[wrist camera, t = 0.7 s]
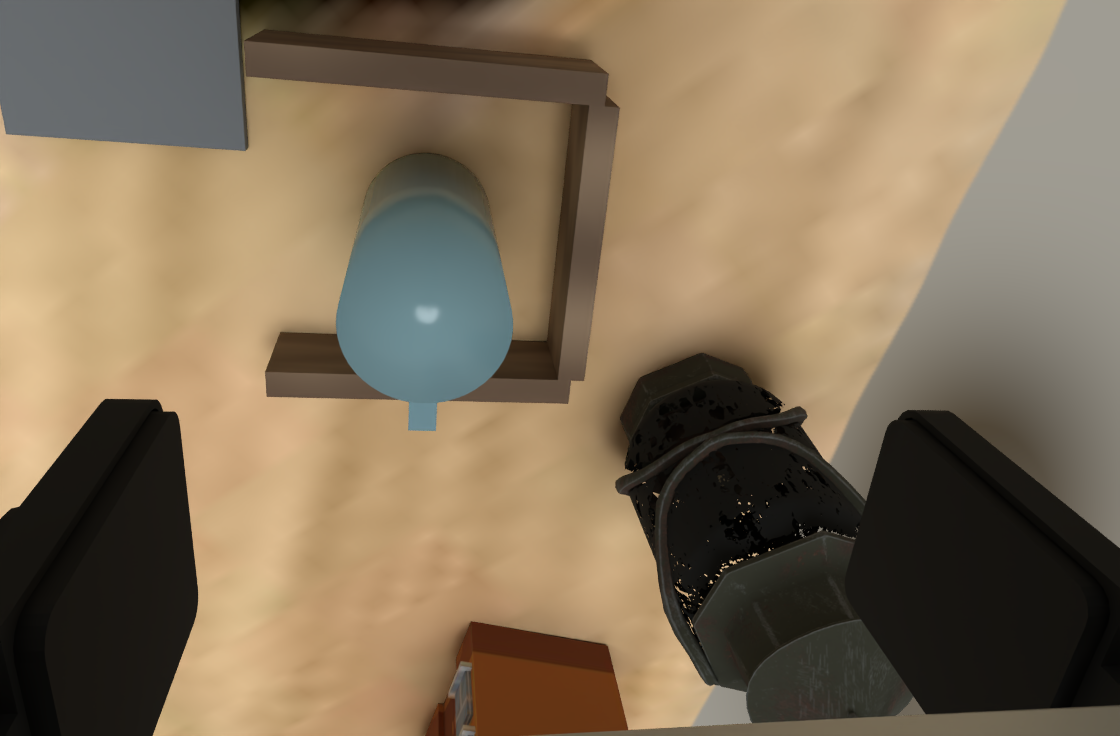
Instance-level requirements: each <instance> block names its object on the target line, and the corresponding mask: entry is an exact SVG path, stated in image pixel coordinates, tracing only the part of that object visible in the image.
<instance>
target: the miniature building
mask: <svg viewBox="0 0 1120 736" xmlns="http://www.w3.org/2000/svg"><path fill="white" fill-rule="evenodd" d="M456 670H457V671H456V673H455V676H454V678H453V681H452V684H451V686H450V689H449V692H448V694H447V697H446V700H445V702H444V704H439V703H438V706H437V708H436V711H435V713H434V716H433V718H432V721H431V723H430V726H429V728H428V731H427V733H426V736H531V735H549V734H568V733H587V732H605V731H623V730H628V727H627V723H626V718H625V714H624V710H623V706H622V702H621V698H620V694H619V690H618V686H617V682H616V678H615V674H614V669H613V665H612V661H611V657H610V653H609V649H608V646H605V645H600V644H594V643H588V642H583V641H577V640H572V639H566V638H561V637H555V636H550V635H544V634H539V633H533V632H528V631H522V630H516V629H511V628H505V627H500V626H494V625H489V624H483V623H478V622H472V621H471V623H470V625H469V628H468V630H467V633H466V635H465V638H464V640H463V643H462V645H461V648H460V650H459V653H458V655H457V658H456Z"/></svg>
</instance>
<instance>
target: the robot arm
mask: <svg viewBox="0 0 1120 736" xmlns="http://www.w3.org/2000/svg"><path fill="white" fill-rule="evenodd" d="M845 591H846V595H847V598H848V601H849V602H850V604H851V606H852V607H853V609H854V610H855V612H856V613H857V615H858V616H859V617H860V619H861V620H862V622H863V623H864V625H865V626H866V628H867V629H868V631H869V632H870V633H871V635H872V636H873V638H874V639H875V641H876V642H877V644H878V645H879V647H880V648H881V650H882V651H883V652H884V654H885V655H886V657H887V658H888V660H889V661H890V663H891V664H892V666H893V667H894V669H895V670H896V671H897V673H898V674H899V676H900V677H901V679H902V680H903V682H904V683H905V685H906V686H907V687H908V689H909V690H910V692H911V693H912V695H913V696H914V698H915V699H916V701H917V702H918V703H919V705H920V706H921V708H922V709H923V711H924V712H925V714H923V715H904V716H884V717H864V718H845V719H826V720H806V721H787V722H768V723H749V724H732V725H713V726H695V727H677V728H659V729H641V730H623V731H605V732H587V733H568V734H549V735H531V736H1120V548H1119V547H1117V546H1116V545H1115V544H1114V543H1112V542H1111V541H1110V540H1109V539H1107V538H1106V537H1105V536H1104V535H1103V534H1101V533H1100V532H1099V531H1098V530H1097V529H1095V528H1094V527H1093V526H1092V525H1090V524H1089V523H1088V522H1087V521H1085V520H1084V519H1083V518H1082V517H1080V516H1079V515H1078V514H1077V513H1076V512H1074V511H1073V510H1072V509H1071V508H1069V507H1068V506H1067V505H1066V504H1064V503H1063V502H1062V501H1061V500H1059V499H1058V498H1057V497H1056V496H1055V495H1053V494H1052V493H1051V492H1050V491H1048V490H1047V489H1046V488H1045V487H1043V486H1042V485H1041V484H1040V483H1039V482H1037V481H1036V480H1035V479H1034V478H1032V477H1031V476H1030V475H1028V474H1027V473H1026V472H1025V471H1024V470H1022V469H1021V468H1020V467H1019V466H1018V465H1016V464H1015V463H1014V462H1013V461H1011V460H1010V459H1009V458H1008V457H1006V456H1005V455H1004V454H1003V453H1002V452H1000V451H999V450H998V449H997V448H995V447H994V446H993V445H991V444H990V443H989V442H988V441H987V440H985V439H984V438H983V437H982V436H981V435H979V434H978V433H977V432H976V431H974V430H973V429H972V428H971V427H969V426H968V425H967V424H966V423H964V422H963V421H962V420H961V419H960V418H958V417H957V416H956V415H955V414H953V413H951V412H949V411H933V410H932V411H931V410H930V411H929V410H927V411H926V410H907V411H905V412H903V413H902V414H901V416H900V417H899V418H898V420H894V421H892V422H891V423H890V424H889V425H888V427H887V430H886V433H885V436H884V440H883V443H882V447H881V451H880V454H879V457H878V461H877V464H876V468H875V472H874V476H873V479H872V482H871V486H870V489H869V493H868V497H867V501H866V504H865V507H864V511H863V514H862V518H861V522H860V525H859V529H858V532H857V536H856V539H855V543H854V546H853V550H852V554H851V557H850V561H849V564H848V568H847V571H846V576H845ZM197 606H198V586H197V577H196V567H195V558H194V549H193V540H192V531H191V522H190V513H189V504H188V495H187V486H186V477H185V468H184V459H183V450H182V440H181V431H180V423H179V418H178V416H177V414H176V412H163V409H162V406H161V404H160V402H159V401H158V400H141V399H105V400H104V401H103V402H101V404H100V405H99V406H98V407H97V409H96V410H95V411H94V412H93V414H92V415H91V416H90V418H89V419H88V420H87V421H86V423H85V424H84V425H83V426H82V428H81V429H80V430H79V432H78V433H77V434H76V435H75V437H74V438H73V439H72V440H71V442H70V443H69V444H68V445H67V447H66V448H65V449H64V451H63V452H62V453H61V454H60V456H59V457H58V458H57V459H56V461H55V462H54V463H53V465H52V466H51V467H50V468H49V470H48V471H47V472H46V473H45V475H44V476H43V477H42V479H41V480H40V481H39V482H38V484H37V485H36V486H35V487H34V489H33V490H32V491H31V493H30V494H29V495H28V496H27V498H26V499H25V500H24V501H23V503H22V504H21V505H20V507H16V508H12V509H10V510H9V511H8V512H7V513H6V514H5V515H4V516H3V517H2V518H1V519H0V736H153V733H154V730H155V727H156V725H157V722H158V719H159V717H160V714H161V711H162V708H163V706H164V703H165V700H166V698H167V695H168V692H169V689H170V687H171V684H172V681H173V679H174V676H175V673H176V670H177V668H178V665H179V662H180V659H181V657H182V654H183V651H184V649H185V646H186V643H187V640H188V638H189V635H190V632H191V630H192V627H193V624H194V621H195V618H196V613H197Z"/></svg>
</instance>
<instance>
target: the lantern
mask: <svg viewBox="0 0 1120 736" xmlns="http://www.w3.org/2000/svg"><path fill="white" fill-rule="evenodd" d="M769 398H772V399H769ZM766 399H767V400H766ZM776 402H777V403H776ZM781 403H782V402H781V401H780V400H779V399H778V398H776V397H775V396H774V395H773V394H771V393H770V392H769V391H766V390H764V389H762V388H760V387H758V386H756V385H753V384H752V381H751V380H750V378H749V376H748V375H747V374H746V372H745V371H744V369H743V368H741V367H738V366H736V365H733V364H730V363H728V362H725V361H723V360H720V359H717V358H715V357H712V356H709V355H707V354H704V353H700V354H698V355H695V356H693V357H691V358H688V359H686V360H683V361H681V362H678V363H676V364H673V365H671V366H668V367H666V368H664V369H661V370H659V371H656V372H654V373H651V374H649V375H646V376H644V377H641V378H640V379H639V381H638V383H637V385H636V387H635V389H634V391H633V393H632V395H631V397H630V399H629V401H628V403H627V405H626V407H625V409H624V411H623V413H622V415H621V417H620V420H621V423H622V425H623V428H624V430H625V433H626V435H627V438H628V440H629V443H630V445H629V447H628V452H627V455H626V461H625V469H626V468H627V470H630V471H631V472H632V471H633V470H634V471H633V473H631V474H628V475H625V476H622V477H621V478H619V479H618V480H616V486H615V488H616V489H617V491H618V493H620V494H625V495H628V496H630V498H631V501H632V503H633V506H634V508H635V511H636V513H637V515H638V518H639V520H640V523H641V525H642V528H643V530H644V533H645V535H646V538H647V540H648V543H649V545H650V548H651V550H652V553H653V555H654V558H655V560H656V563H657V572H658V582H659V588H660V593H661V598H662V603H663V608H664V612H665V614H666V616H667V618H668V621H669V623H670V625H671V627H672V629H673V632H674V634H675V636H676V637H677V639H678V640H679V642H680V643H681V645H682V646H683V648H684V649H685V651H686V652H687V654H688V655H689V657H690V659H691V661H692V662H693V664H694V666H695V668H696V669H697V671H698V673H699V675H700V676H701V678H702V679H703V680H704V682H705V683H706V684H707V685H710V686H711V685H713V684H714V685H720V686H722V687H726V688H730V689H735V690H739V691H744V692H747V693H746V701H747V710H748V713H749V716H750V720H751V722H752V723H768V722H787V721H806V720H826V719H845V718H864V717H884V716H896V715H897V714H899V713H900V712H901V711H902V710H903V708H904V707H906V706H907V705H908V703H909V702H910V701H911V699H912V697H913V695H912V693H911V692H910V690H909V689H908V687H907V686H906V685H905V683H904V682H903V680H902V679H901V677H900V676H899V674H898V673H897V671H896V670H895V669H894V667H893V666H892V664H891V663H890V661H889V660H888V658H887V657H886V655H885V654H884V652H883V651H882V650H881V648H880V647H879V645H878V644H877V642H876V641H875V639H874V638H873V636H872V635H871V633H870V632H869V631H868V629H867V628H866V626H865V625H864V623H863V622H862V620H861V619H860V617H859V616H858V615H857V613H856V612H855V610H854V609H853V607H852V606H851V604H850V602H849V601H848V598H847V595H846V591H845V576H846V571H847V568H848V564H849V561H850V557H851V554H852V550H853V546H854V543H855V540H854V539H851V538H852V537H854V538H856V535H857V530H856V527H857V528H858V529H859V525H860V522H861V518H862V514H863V511H864V507H865V504H866V501H865V500H864V499H863V497H862V496H861V495H860V494H859V493H858V492H857V491H856V490H855V489H854V488H853V486H852V485H851V484H849V482H848V481H847V480H846V479H845V478H844V477H842V475H840V474H839V473H838V472H837V471H836V470H835V469H834V468H833V467H832V466H831V465H830V464H829V463H828V462H826V461H825V460H824V459H823V458H822V456H821V455H820V453H819V452H818V450H817V449H816V447H815V446H814V444H813V443H812V441H811V440H810V439H809V437H808V436H807V434H806V433H805V431H804V430H803V428H802V427H801V424H802V423H803V421H804V420H805V419H806V418H807V414H806V411H805V410H804V409H803V408H801V407H800V406H798V407H795V408H792V409H790V410H788V411H785V412H782V413H780V411H781V409H780V406H782V405H781ZM783 404H784V403H783ZM784 405H785V404H784ZM774 407H775V408H776V407H778V408H776V409H774ZM782 407H783V406H782ZM769 408H770V409H769ZM773 428H775V429H773ZM771 429H773V430H775V431H774V432H773V433H772V431H771ZM771 449H772V450H771ZM627 456H628V457H627ZM635 464H636V466H634V465H635ZM802 466H804V467H805V469H806V470H804V469H803V467H802ZM628 468H629V469H628ZM807 468H808V469H807ZM638 469H639V470H638ZM637 470H638V471H637ZM805 471H806V472H805ZM809 471H810V472H809ZM643 482H646V484H645V483H644V484H643ZM782 483H783V485H782ZM807 487H808V488H807ZM653 492H655V493H658V494H659V497H658V498H657V497H656V496H655V495H654V494H653ZM751 495H752V496H751ZM737 499H738V500H737ZM636 500H637V501H638V502H637V501H636ZM677 500H679V503H678V502H677ZM683 502H684V503H683ZM738 502H741V505H740V504H738ZM748 502H750V503H751V504H750V505H748ZM766 502H768V505H767V504H766ZM673 503H674V504H673ZM642 504H643V506H642ZM752 505H753V506H752ZM676 506H677V508H676ZM768 506H769V507H768ZM748 510H749V511H750V512H751V513H750V512H747V511H748ZM741 512H743V513H744V514H745V515H742V514H743V513H741ZM759 514H760V515H761V517H762V518H760V515H759ZM640 517H641V518H640ZM735 517H736V518H735ZM734 518H735V519H734ZM757 519H758V520H757ZM740 521H741V522H740ZM758 521H759V522H758ZM652 524H653V525H652ZM799 524H801V526H799ZM804 524H805V525H804ZM654 526H655V527H654ZM819 526H820V527H821V528H822V527H823V530H822V531H820V532H817V531H818V529H819ZM732 528H733V529H732ZM799 529H803V530H802V532H803V533H804V534H803V533H802V534H803V535H804V538H803V537H801V536H802V535H800V533H801V532H799ZM826 529H827V530H828V532H827V531H826ZM726 530H727V531H726ZM743 530H744V531H743ZM804 530H805V531H804ZM832 530H833V532H837V534H838V533H839V535H837V534H834V533H831V531H832ZM855 530H856V531H855ZM808 531H809V532H808ZM647 534H648V535H647ZM795 534H796V536H795ZM840 534H841V535H840ZM844 534H845V535H846V536H848V537H851V538H847V537H844V536H842V535H844ZM648 536H649V537H648ZM805 536H806V537H805ZM734 539H735V540H734ZM707 540H708V541H709V542H708V541H707ZM782 542H783V543H782ZM652 544H653V545H652ZM672 546H673V547H672ZM769 548H770V550H771V551H768V549H769ZM772 548H774V549H772ZM748 552H749V553H748ZM671 553H672V555H671ZM753 553H754V554H755V553H757V555H756V557H754V556H752V555H753ZM748 554H750V556H748ZM758 554H759V555H758ZM674 556H675V557H674ZM731 557H732V558H731ZM741 558H743V560H740V562H739V561H738V562H737V559H741ZM747 559H748V560H747ZM721 560H722V561H721ZM729 560H730V561H731V560H732V561H733V562H734V560H735V561H736V564H734V565H733V564H732V563H731V564H730V563H729ZM677 562H678V564H677ZM724 563H726V564H724ZM737 563H738V564H737ZM674 564H675V565H674ZM682 564H683V565H684V566H683V565H682ZM722 564H724V566H723V565H722ZM725 566H729V567H728V568H723V569H722V568H721V567H725ZM690 567H691V568H690ZM689 568H690V569H689ZM720 569H722V570H723V571H722V572H721V571H720ZM718 570H719V571H718ZM704 574H706V575H707V577H706V576H705V575H704ZM716 574H718V575H720V576H719V577H718V576H717V575H716ZM700 576H701V577H700ZM680 579H681V581H680V583H681V582H682V583H681V584H680V583H679V580H680ZM710 580H712V582H713V584H711V583H710ZM715 581H716V582H715ZM677 582H678V583H679V584H677ZM709 583H710V584H709ZM674 584H675V585H674ZM675 586H676V587H677V586H678V588H679V589H680V591H683V592H686V593H688V595H689V594H692V595H691V596H688V597H689V598H690V600H691V602H690V600H689V598H688V597H687V596H685V595H684V594H683V595H682V594H681V593H680V592H678V591H677V589H676V588H675ZM692 586H693V587H692ZM708 586H709V587H708ZM688 587H689V588H688ZM693 589H695V590H696V591H694V590H693ZM677 592H678V593H677ZM698 592H699V593H698ZM694 595H695V596H694ZM701 596H702V598H703V599H704V600H703V599H702V598H700V597H701ZM681 599H682V600H683V602H682V600H681ZM687 599H688V600H687ZM692 599H694V600H692ZM698 603H700V604H701V605H699V604H698ZM683 604H685V605H686V608H685V606H683ZM689 604H690V605H691V607H690V605H689ZM688 605H689V606H688ZM682 608H683V609H682ZM689 608H690V609H689ZM698 608H699V609H698ZM681 609H682V610H681ZM682 611H683V612H682ZM683 613H684V614H683ZM688 617H689V618H690V620H691V623H692V625H693V627H692V626H691V624H690V620H689V618H688ZM686 620H687V621H686ZM687 622H689V624H688V623H687ZM689 625H690V626H691V628H692V631H693V632H692V631H691V628H690V626H689ZM693 633H694V634H693ZM699 642H700V643H701V644H700V643H699ZM701 645H702V646H701Z"/></svg>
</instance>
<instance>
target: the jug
mask: <svg viewBox="0 0 1120 736" xmlns="http://www.w3.org/2000/svg"><path fill="white" fill-rule="evenodd" d="M336 329H337V337H338V341H339V345H340V347H341V350H342V352H343V355H344V357H345V358H346V360H347V362H348V364H349V365H350V366H351V368H352V369H353V370H354V372H355V373H356V374H357V375H358V376H359V377H360V378H361V379H362V380H363V381H365V382H366V383H367V384H368V385H370V386H371V387H372V388H374V389H376V390H377V391H379V392H381V393H383V394H385V395H387V396H390V397H392V398H395V399H399V400H402V401H407V402H409V426H408V430H418V431H436V414H437V403H438V402H445V401H449V400H452V399H456V398H459V397H461V396H464V395H466V394H468V393H470V392H472V391H474V390H475V389H477V388H478V387H480V386H481V385H482V384H484V383H485V382H486V381H487V380H488V379H489V378H490V377H492V375H493V374H494V373H495V372H496V371H497V369H498V368H499V367H500V365H501V364H502V362H503V360H504V359H505V356H506V354H507V352H508V350H509V346H510V343H511V339H512V333H513V317H512V310H511V305H510V300H509V296H508V291H507V286H506V282H505V277H504V272H503V268H502V263H501V258H500V254H499V249H498V244H497V240H496V235H495V230H494V226H493V221H492V216H491V212H490V207H489V203H488V199H487V196H486V193H485V191H484V189H483V187H482V185H481V184H480V182H479V181H478V179H477V178H476V177H475V176H474V174H473V173H471V172H470V171H469V170H468V169H467V168H466V167H465V166H463V165H462V164H460V163H459V162H457V161H455V160H453V159H451V158H448V157H445V156H442V155H438V154H431V153H419V154H412V155H408V156H404V157H402V158H399V159H397V160H395V161H393V162H392V163H390V164H388V165H387V166H386V167H385V168H383V169H382V170H381V171H380V172H379V173H378V174H377V176H376V177H375V178H374V180H373V181H372V183H371V185H370V186H369V188H368V191H367V194H366V197H365V201H364V205H363V209H362V213H361V217H360V221H359V225H358V228H357V232H356V236H355V240H354V244H353V248H352V252H351V256H350V260H349V264H348V268H347V272H346V276H345V280H344V284H343V288H342V292H341V296H340V300H339V304H338V309H337V316H336Z"/></svg>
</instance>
